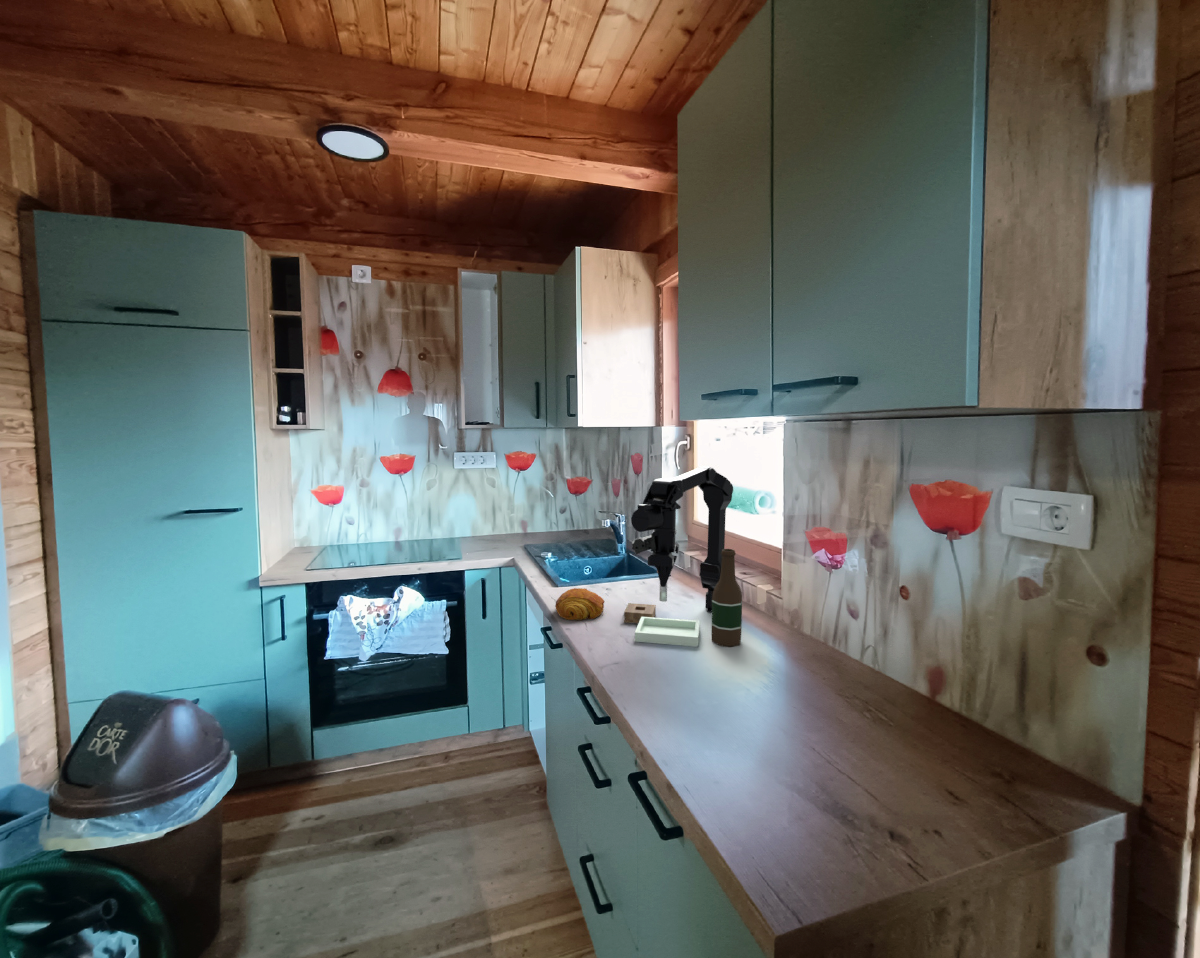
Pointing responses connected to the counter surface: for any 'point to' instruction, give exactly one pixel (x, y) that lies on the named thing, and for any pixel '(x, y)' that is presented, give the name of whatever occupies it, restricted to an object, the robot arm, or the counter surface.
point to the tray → (668, 631)
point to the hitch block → (638, 612)
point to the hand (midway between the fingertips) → (663, 585)
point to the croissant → (579, 604)
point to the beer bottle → (727, 604)
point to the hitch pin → (663, 593)
